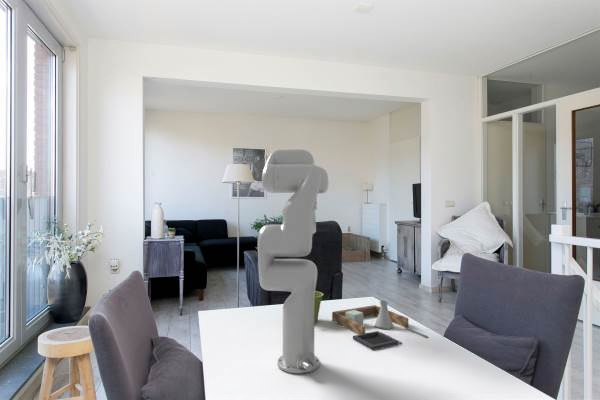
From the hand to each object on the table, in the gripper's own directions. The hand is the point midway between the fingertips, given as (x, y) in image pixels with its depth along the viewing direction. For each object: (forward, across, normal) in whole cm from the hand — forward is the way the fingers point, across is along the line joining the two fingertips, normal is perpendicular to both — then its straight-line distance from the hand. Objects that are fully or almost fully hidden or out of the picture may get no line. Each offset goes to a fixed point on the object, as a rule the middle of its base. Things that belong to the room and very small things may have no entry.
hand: (307, 247), depth 154 cm
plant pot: (+30, -1, -1) cm, 30 cm away
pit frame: (+30, -17, -28) cm, 44 cm away
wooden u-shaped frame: (+30, +2, -25) cm, 39 cm away
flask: (+30, 0, -31) cm, 43 cm away
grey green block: (+30, -1, -19) cm, 36 cm away
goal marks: (+30, -9, -38) cm, 49 cm away
